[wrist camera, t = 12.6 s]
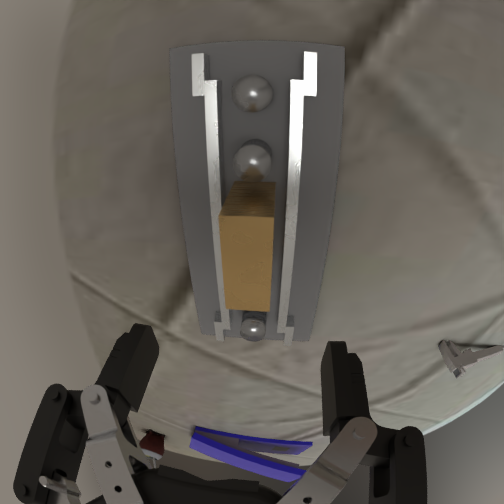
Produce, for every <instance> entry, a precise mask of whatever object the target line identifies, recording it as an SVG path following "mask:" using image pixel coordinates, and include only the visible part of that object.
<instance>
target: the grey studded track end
mask: <svg viewBox="0 0 504 504" xmlns="http://www.w3.org/2000/svg"><path fill="white" fill-rule="evenodd" d="M295 237H296V235H288V234H285V228H284V244H283V258H282V272H281V285H280V298H279V310H278V321H277V333H284V345H287V346H291V344H292V338H293V332H294V316H287V314H288V306H289V297H290V288H291V279H292V269H293V259H294V248H295ZM213 242H214V253H215V264H216V274H217V284H218V293H219V302H220V311H217V312H216V315H215V319H214V326H215V333H216V339H217V341H224V340H225V335H226V329H227V330H231V325H232V320H233V316H232V309H226V305H225V295H224V283H223V271H222V259H221V246H220V233H219V232H215V231H213ZM266 322H267V312H265V311H248V310H244V311H243V316H242V322H241V328H240V335H241V336H242V337H243V338H244V339H246V340H248V341H260V340H262V339H263V338H264V337H265V334H266Z"/></svg>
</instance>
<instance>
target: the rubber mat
mask: <svg viewBox="0 0 504 504" xmlns="http://www.w3.org/2000/svg"><path fill="white" fill-rule="evenodd" d="M304 51H305V52H316V53H317V90H316V96H306V95H304V97H303V128H302V150H301V169H300V185H299V199H298V213H297V225H296V237H295V248H294V259H293V269H292V279H291V288H290V297H289V306H288V314H287V316H294V332H293V338H292V341H309V339H310V335H311V331H312V326H313V322H314V317H315V313H316V308H317V303H318V298H319V293H320V288H321V283H322V278H323V272H324V267H325V261H326V255H327V249H328V243H329V237H330V230H331V223H332V216H333V209H334V202H335V194H336V185H337V177H338V167H339V157H340V146H341V134H342V119H343V101H344V72H345V47H343V46H336V45H329V44H320V43H310V42H297V41H274V40H251V41H228V42H215V43H205V44H196V45H189V46H182V47H176V48H170V88H171V109H172V125H173V138H174V150H175V161H176V172H177V181H178V190H179V199H180V207H181V215H182V222H183V229H184V236H185V243H186V250H187V256H188V263H189V269H190V275H191V280H192V286H193V292H194V297H195V303H196V308H197V313H198V318H199V323H200V328H201V333H202V334H206V335H215V336H216V333H215V326H214V319H215V315H216V312H217V311H220V302H219V293H218V284H217V274H216V264H215V253H214V242H213V231H212V219H211V206H210V192H209V177H208V161H207V143H206V121H205V95H203V96H193V93H192V54H198V53H205V54H207V55H209V66H210V80H219V81H221V93H222V132H223V160H224V184H225V200H226V198H227V196H228V194H229V192H230V190H231V188H232V186H233V184H234V182H235V181H244V180H242V179H241V178H239V177H238V176H237V174H236V173H235V171H234V169H233V159H234V156H235V154H236V153H237V151H238V150H239V148H240V147H241V146H242V144H243V143H245V142H246V141H248V140H251V139H260V140H262V141H264V142H266V143H267V144H268V145H269V146H270V148H271V150H272V164H271V170H270V172H269V174H268V175H267V176H266V177H265V178H264V179H263V180H261V181H259V182H276V187H275V216H274V241H273V263H272V281H271V297H270V312H267V322H266V334H265V337H264V338H263V339H268V340H284V333H277V321H278V310H279V298H280V285H281V272H282V258H283V244H284V228H285V210H286V191H287V169H288V142H289V105H290V80H302V54H303V52H304ZM251 74H253V75H258V76H261V77H263V78H264V79H266V80H267V81H268V82H269V84H270V85H271V87H272V89H273V98H272V101H271V102H270V104H269V105H268V106H267V107H266V108H264V109H263V110H261V111H258V112H246V111H243V110H241V109H239V108H238V107H237V106H236V105H235V104H234V102H233V100H232V97H231V90H232V87H233V85H234V83H235V82H236V81H237V80H238V79H239V78H241V77H243V76H245V75H251ZM243 311H244V310H234V309H232V316H233V320H232V325H231V330H227V329H226V335H225V336H226V337H238V338H243V337H242V336H241V335H240V328H241V322H242V316H243Z"/></svg>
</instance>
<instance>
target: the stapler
mask: <svg viewBox="0 0 504 504" xmlns="http://www.w3.org/2000/svg"><path fill="white" fill-rule="evenodd" d="M311 446H312V442H301V441H286V440H275V439H266V438H258V437H250V436H243V435H237V434H231V433H226V432H220V431H215V430H210V429H206V428H201V427H197V426H196V428H195V432H194V434H193V436H192V438H191V443H190V448H192V449H194V450H196V451H199V452H201V453H203V454H206V455H208V456H210V457H213V458H215V459H218V460H220V461H223V462H225V463H228V464H231V465H233V466H236V467H239V468H242V469H245V470H248V471H251V472H254V473H257V474H261V475H264V476H267V477H271V478H275V479H278V480H282V481H286V482H290V481H293V480H296V479H299V478H300V477H301V476H302V475H303V474H304V473H305V472H306V470H302V469H298V467H299V464H295V463H291V462H287V461H283V460H279V459H276V458H272V457H269V456H265V455H262V454H259V453H256V452H253V451H258V452H268V453H279V454H295V455H298V454H300V453H301V452H303V451H304V450H306V449H308V448H309V447H311ZM249 450H250V451H249Z"/></svg>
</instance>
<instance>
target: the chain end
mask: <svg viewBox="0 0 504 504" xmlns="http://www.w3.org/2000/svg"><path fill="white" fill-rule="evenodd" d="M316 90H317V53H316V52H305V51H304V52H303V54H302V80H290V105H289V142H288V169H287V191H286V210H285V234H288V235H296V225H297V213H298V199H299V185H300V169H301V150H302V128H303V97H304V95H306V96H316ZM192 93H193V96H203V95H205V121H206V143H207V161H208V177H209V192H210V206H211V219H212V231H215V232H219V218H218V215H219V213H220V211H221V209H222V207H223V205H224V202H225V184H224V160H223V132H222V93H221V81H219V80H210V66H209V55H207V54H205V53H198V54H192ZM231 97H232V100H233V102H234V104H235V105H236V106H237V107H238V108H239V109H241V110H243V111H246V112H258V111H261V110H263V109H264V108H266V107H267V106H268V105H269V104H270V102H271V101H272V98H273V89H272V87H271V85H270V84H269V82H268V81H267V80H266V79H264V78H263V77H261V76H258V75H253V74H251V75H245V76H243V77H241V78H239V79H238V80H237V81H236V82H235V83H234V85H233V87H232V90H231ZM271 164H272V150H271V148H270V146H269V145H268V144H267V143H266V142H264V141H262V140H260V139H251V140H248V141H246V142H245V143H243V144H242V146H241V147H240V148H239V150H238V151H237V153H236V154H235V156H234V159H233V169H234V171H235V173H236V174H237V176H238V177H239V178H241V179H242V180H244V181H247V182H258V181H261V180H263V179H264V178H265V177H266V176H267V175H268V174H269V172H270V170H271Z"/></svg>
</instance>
